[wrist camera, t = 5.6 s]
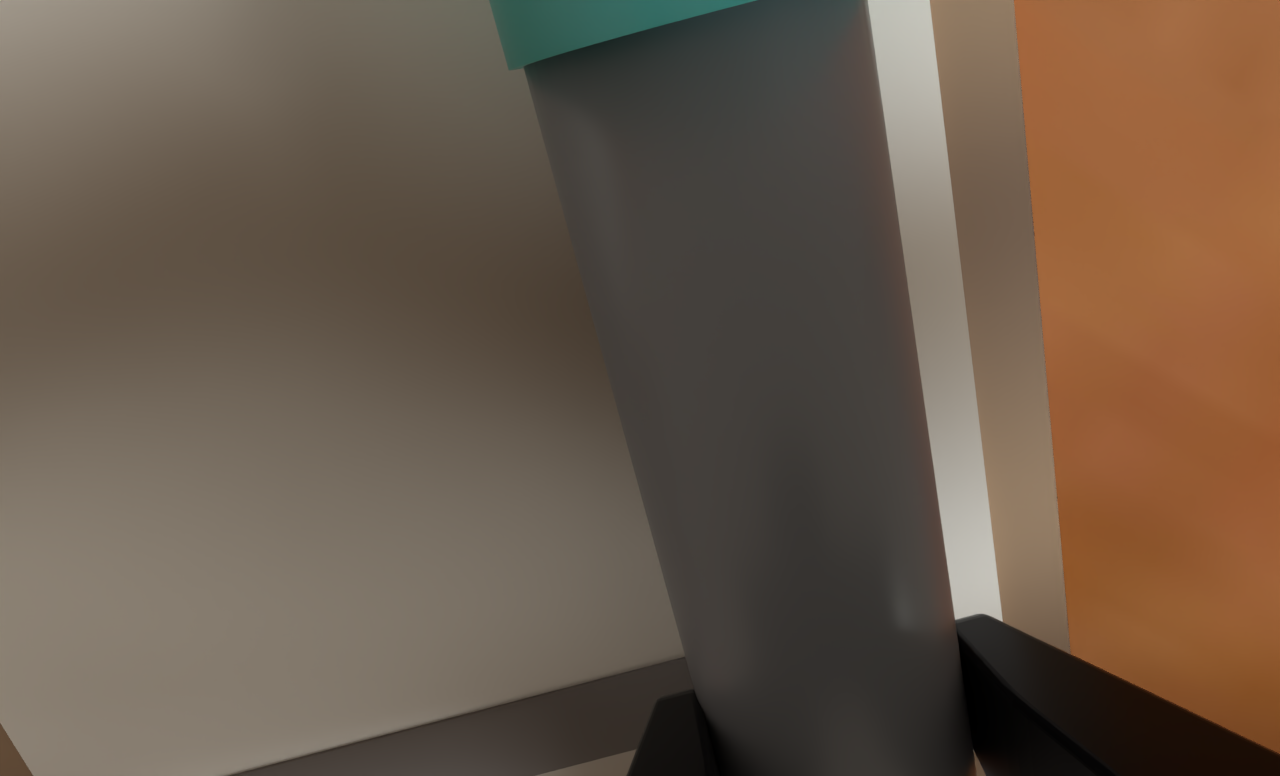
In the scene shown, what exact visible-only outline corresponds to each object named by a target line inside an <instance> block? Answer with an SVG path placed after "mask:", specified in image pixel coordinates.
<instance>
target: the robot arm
mask: <svg viewBox="0 0 1280 776" xmlns="http://www.w3.org/2000/svg"><path fill="white" fill-rule="evenodd" d="M955 623H956V630H957V637H958V644H959V651H960V658H961V666H962V673H963V680H964V687H965V694H966V701H967V708H968V715H969V722H970V729H971V736H972V744H973V750H974V752H975V754H976V756H977V758H978V760H979V762H980V764H981V766H982V768H983V770H984V773H985V775H986V776H1280V754H1279V753H1277V752H1275V751H1272V750H1270V749H1268V748H1266V747H1264V746H1262V745H1260V744H1258V743H1256V742H1254V741H1251V740H1249V739H1247V738H1245V737H1243V736H1241V735H1239V734H1237V733H1235V732H1233V731H1231V730H1228V729H1226V728H1224V727H1222V726H1220V725H1218V724H1216V723H1214V722H1212V721H1210V720H1207V719H1205V718H1203V717H1201V716H1199V715H1197V714H1195V713H1193V712H1191V711H1189V710H1187V709H1184V708H1182V707H1180V706H1178V705H1176V704H1174V703H1172V702H1170V701H1168V700H1166V699H1163V698H1161V697H1159V696H1157V695H1155V694H1153V693H1151V692H1149V691H1147V690H1145V689H1142V688H1140V687H1138V686H1136V685H1134V684H1132V683H1130V682H1128V681H1126V680H1124V679H1122V678H1119V677H1117V676H1115V675H1113V674H1111V673H1109V672H1107V671H1105V670H1103V669H1101V668H1098V667H1096V666H1094V665H1092V664H1090V663H1088V662H1086V661H1084V660H1082V659H1080V658H1078V657H1075V656H1073V655H1071V654H1069V653H1067V652H1065V651H1063V650H1061V649H1059V648H1057V647H1054V646H1052V645H1050V644H1048V643H1046V642H1044V641H1042V640H1040V639H1038V638H1036V637H1034V636H1031V635H1029V634H1027V633H1025V632H1023V631H1021V630H1019V629H1017V628H1015V627H1013V626H1010V625H1008V624H1006V623H1004V622H1002V621H1000V620H998V619H996V618H994V617H992V616H989V615H986V614H975V615H971V616H967V617H963V618H959V619H956V620H955ZM626 776H721V774H720V771H719V767H718V763H717V760H716V756H715V752H714V749H713V745H712V741H711V738H710V734H709V730H708V727H707V723H706V719H705V716H704V712H703V709H702V707H701V705H700V703H699V701H698V699H697V696H696V693H695V690H694V689H687V690H684V691H680V692H676V693H672V694H668V695H664V696H661V697H659V698H658V699H657V700H656V701H655V703H654V705H653V708H652V710H651V713H650V716H649V718H648V721H647V723H646V726H645V729H644V731H643V734H642V736H641V739H640V742H639V744H638V747H637V749H636V752H635V755H634V757H633V760H632V762H631V765H630V768H629V770H628V773H627V775H626Z"/></svg>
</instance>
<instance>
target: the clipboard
mask: <svg viewBox="0 0 1280 776" xmlns="http://www.w3.org/2000/svg"><path fill="white" fill-rule="evenodd" d="M868 6H869V13H870V20H871V27H872V34H873V41H874V49H875V56H876V63H877V70H878V77H879V84H880V91H881V98H882V105H883V112H884V119H885V127H886V134H887V141H888V148H889V155H890V162H891V169H892V176H893V183H894V190H895V197H896V205H897V212H898V219H899V226H900V233H901V240H902V247H903V254H904V261H905V268H906V275H907V283H908V290H909V297H910V304H911V311H912V318H913V325H914V332H915V339H916V346H917V353H918V361H919V368H920V375H921V382H922V389H923V396H924V403H925V410H926V417H927V424H928V431H929V439H930V446H931V453H932V460H933V467H934V474H935V481H936V488H937V495H938V502H939V510H940V517H941V524H942V531H943V538H944V545H945V552H946V559H947V566H948V573H949V580H950V588H951V595H952V602H953V609H954V616H955V620H956V619H959V618H963V617H967V616H971V615H975V614H986V615H989V616H992V617H994V618H996V619H998V620H1000V621H1002V622H1004V623H1006V624H1008V625H1010V626H1013V627H1015V628H1017V629H1019V630H1021V631H1023V632H1025V633H1027V634H1029V635H1031V636H1034V637H1036V638H1038V639H1040V640H1042V641H1044V642H1046V643H1048V644H1050V645H1052V646H1054V647H1057V648H1059V649H1061V650H1063V651H1065V652H1067V653H1069V654H1070V642H1069V631H1068V619H1067V608H1066V596H1065V585H1064V573H1063V562H1062V550H1061V539H1060V527H1059V516H1058V504H1057V493H1056V481H1055V470H1054V458H1053V447H1052V435H1051V424H1050V412H1049V401H1048V389H1047V378H1046V366H1045V355H1044V343H1043V332H1042V320H1041V309H1040V297H1039V286H1038V274H1037V263H1036V251H1035V240H1034V228H1033V217H1032V205H1031V194H1030V182H1029V171H1028V159H1027V148H1026V136H1025V125H1024V113H1023V102H1022V90H1021V79H1020V67H1019V56H1018V44H1017V33H1016V21H1015V10H1014V0H868ZM687 689H694V687H693V683H692V679H691V676H690V672H689V668H688V665H687V661H686V658H685V654H684V650H683V647H682V643H681V639H680V636H679V632H678V628H677V625H676V621H675V617H674V614H673V610H672V607H671V603H670V599H669V596H668V592H667V588H666V585H665V581H664V577H663V574H662V570H661V566H660V563H659V559H658V556H657V552H656V548H655V545H654V541H653V537H652V534H651V530H650V526H649V523H648V519H647V516H646V512H645V508H644V505H643V501H642V497H641V494H640V490H639V486H638V483H637V479H636V475H635V472H634V468H633V465H632V461H631V457H630V454H629V450H628V446H627V443H626V439H625V435H624V432H623V428H622V424H621V421H620V417H619V414H618V410H617V406H616V403H615V399H614V395H613V392H612V388H611V384H610V381H609V377H608V373H607V370H606V366H605V363H604V359H603V355H602V352H601V348H600V344H599V341H598V337H597V333H596V330H595V326H594V323H593V319H592V315H591V312H590V308H589V304H588V301H587V297H586V293H585V290H584V286H583V282H582V279H581V275H580V272H579V268H578V264H577V261H576V257H575V253H574V250H573V246H572V242H571V239H570V235H569V231H568V228H567V224H566V221H565V217H564V213H563V210H562V206H561V202H560V199H559V195H558V191H557V188H556V184H555V180H554V177H553V173H552V170H551V166H550V162H549V159H548V155H547V151H546V148H545V144H544V140H543V137H542V133H541V129H540V126H539V122H538V119H537V115H536V111H535V108H534V104H533V100H532V97H531V93H530V89H529V86H528V82H527V79H526V75H525V71H524V68H522V69H517V70H508V66H507V63H506V59H505V55H504V52H503V48H502V45H501V41H500V38H499V34H498V31H497V27H496V23H495V20H494V16H493V13H492V9H491V6H490V2H489V0H0V776H626V775H627V773H628V770H629V768H630V765H631V762H632V760H633V757H634V755H635V752H636V749H637V747H638V744H639V742H640V739H641V736H642V734H643V731H644V729H645V726H646V723H647V721H648V718H649V716H650V713H651V710H652V708H653V705H654V703H655V701H656V700H657V699H658V698H659V697H661V696H664V695H668V694H672V693H676V692H680V691H684V690H687ZM973 751H974V750H973ZM974 758H975V765H976V772H977V776H986V775H985V773H984V770H983V768H982V766H981V764H980V762H979V760H978V758H977V756H976V754H975V752H974Z"/></svg>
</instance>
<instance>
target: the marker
mask: <svg viewBox="0 0 1280 776" xmlns="http://www.w3.org/2000/svg"><path fill="white" fill-rule="evenodd" d="M489 2H490V6H491V9H492V13H493V16H494V20H495V23H496V27H497V31H498V34H499V38H500V41H501V45H502V48H503V52H504V55H505V59H506V63H507V66H508V70H517V69H522V68H524V71H525V75H526V79H527V82H528V86H529V89H530V93H531V97H532V100H533V104H534V108H535V111H536V115H537V119H538V122H539V126H540V129H541V133H542V137H543V140H544V144H545V148H546V151H547V155H548V159H549V162H550V166H551V170H552V173H553V177H554V180H555V184H556V188H557V191H558V195H559V199H560V202H561V206H562V210H563V213H564V217H565V221H566V224H567V228H568V231H569V235H570V239H571V242H572V246H573V250H574V253H575V257H576V261H577V264H578V268H579V272H580V275H581V279H582V282H583V286H584V290H585V293H586V297H587V301H588V304H589V308H590V312H591V315H592V319H593V323H594V326H595V330H596V333H597V337H598V341H599V344H600V348H601V352H602V355H603V359H604V363H605V366H606V370H607V373H608V377H609V381H610V384H611V388H612V392H613V395H614V399H615V403H616V406H617V410H618V414H619V417H620V421H621V424H622V428H623V432H624V435H625V439H626V443H627V446H628V450H629V454H630V457H631V461H632V465H633V468H634V472H635V475H636V479H637V483H638V486H639V490H640V494H641V497H642V501H643V505H644V508H645V512H646V516H647V519H648V523H649V526H650V530H651V534H652V537H653V541H654V545H655V548H656V552H657V556H658V559H659V563H660V566H661V570H662V574H663V577H664V581H665V585H666V588H667V592H668V596H669V599H670V603H671V607H672V610H673V614H674V617H675V621H676V625H677V628H678V632H679V636H680V639H681V643H682V647H683V650H684V654H685V658H686V661H687V665H688V668H689V672H690V676H691V679H692V683H693V687H694V690H695V693H696V696H697V699H698V701H699V703H700V705H701V707H702V709H703V712H704V716H705V719H706V723H707V727H708V730H709V734H710V738H711V741H712V745H713V749H714V752H715V756H716V760H717V763H718V767H719V771H720V774H721V776H977V772H976V765H975V758H974V751H973V744H972V736H971V729H970V722H969V715H968V708H967V701H966V694H965V687H964V680H963V673H962V666H961V658H960V651H959V644H958V637H957V630H956V623H955V616H954V609H953V602H952V595H951V588H950V580H949V573H948V566H947V559H946V552H945V545H944V538H943V531H942V524H941V517H940V510H939V502H938V495H937V488H936V481H935V474H934V467H933V460H932V453H931V446H930V439H929V431H928V424H927V417H926V410H925V403H924V396H923V389H922V382H921V375H920V368H919V361H918V353H917V346H916V339H915V332H914V325H913V318H912V311H911V304H910V297H909V290H908V283H907V275H906V268H905V261H904V254H903V247H902V240H901V233H900V226H899V219H898V212H897V205H896V197H895V190H894V183H893V176H892V169H891V162H890V155H889V148H888V141H887V134H886V127H885V119H884V112H883V105H882V98H881V91H880V84H879V77H878V70H877V63H876V56H875V49H874V41H873V34H872V27H871V20H870V13H869V6H868V0H489Z"/></svg>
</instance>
